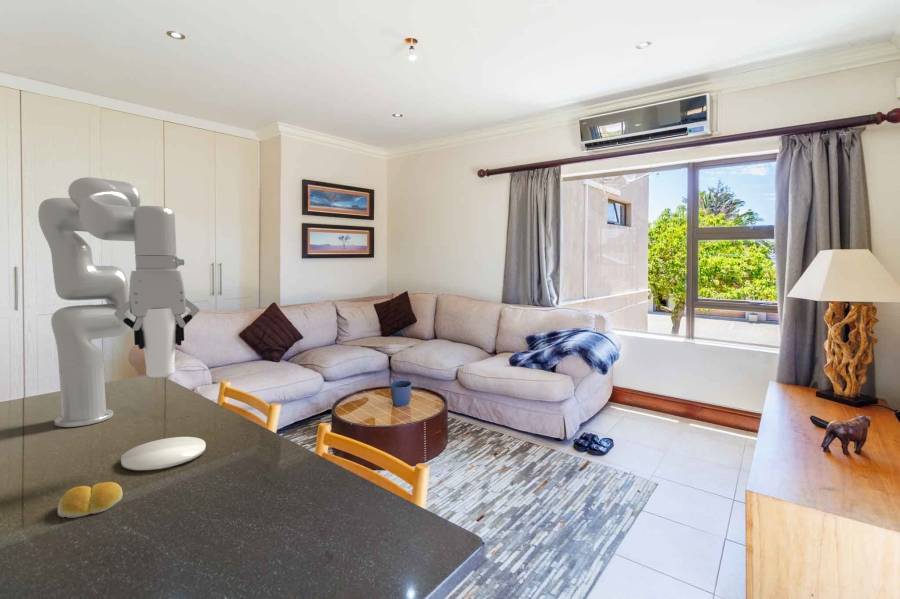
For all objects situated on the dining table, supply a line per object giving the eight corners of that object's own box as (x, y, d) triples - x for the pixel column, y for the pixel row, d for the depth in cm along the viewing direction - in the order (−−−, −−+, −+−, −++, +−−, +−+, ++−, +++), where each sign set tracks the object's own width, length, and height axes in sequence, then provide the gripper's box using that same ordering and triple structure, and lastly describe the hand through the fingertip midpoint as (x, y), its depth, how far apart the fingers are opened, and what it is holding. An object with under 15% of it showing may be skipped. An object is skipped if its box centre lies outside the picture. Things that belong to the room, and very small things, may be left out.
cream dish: (119, 454, 103) (118, 447, 103) (198, 437, 113) (198, 431, 113) (123, 480, 91) (123, 473, 90) (212, 459, 101) (212, 452, 100)
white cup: (161, 379, 97) (158, 309, 95) (134, 378, 98) (131, 308, 97) (185, 372, 103) (183, 306, 102) (160, 370, 105) (157, 305, 103)
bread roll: (121, 509, 80) (120, 487, 80) (55, 525, 76) (54, 501, 75) (124, 489, 87) (123, 469, 87) (63, 503, 82) (62, 481, 82)
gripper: (198, 264, 107) (200, 340, 108) (105, 264, 96) (110, 348, 97) (204, 264, 101) (207, 344, 102) (107, 264, 90) (111, 353, 92)
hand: (160, 345), depth 100 cm, fingers closed on white cup, 6 cm apart
